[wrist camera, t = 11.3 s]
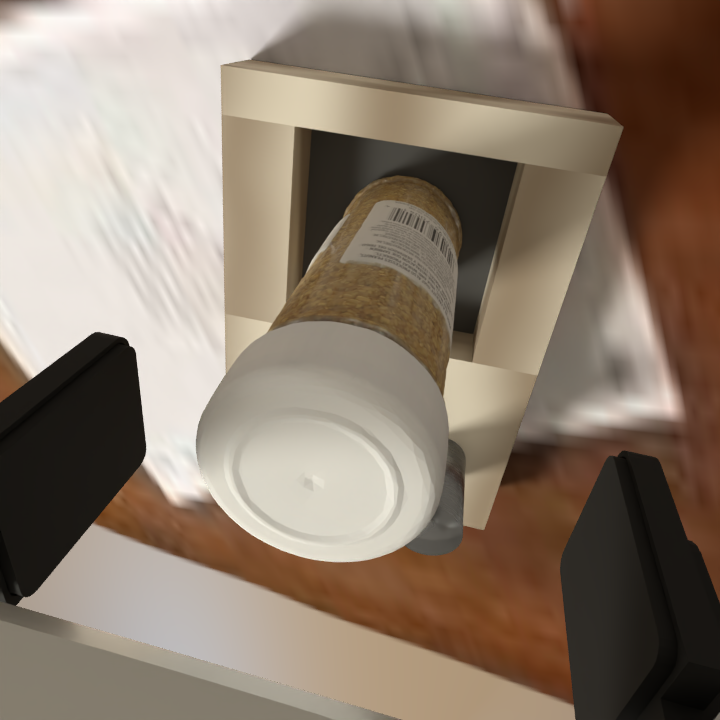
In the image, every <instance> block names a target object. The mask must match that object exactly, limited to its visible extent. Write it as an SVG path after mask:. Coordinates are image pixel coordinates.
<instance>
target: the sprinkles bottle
mask: <svg viewBox="0 0 720 720" xmlns="http://www.w3.org/2000/svg"><path fill="white" fill-rule="evenodd" d="M461 246H462V228H461V222H460V219H459V216H458V213H457V211H456V209H455V208H454V207H453V205H452V203H451V201H450V200H449V199H448V198H447V197H446V196H445V195H444V194H443V192H442V191H441V190H440V189H438V188H437V187H436V186H434V185H432V184H430V183H428V182H426V181H425V180H421V179H419V178H414V177H409V176H399V175H398V176H393V177H386V178H382V179H378V180H375V181H373V182H372V183H370V184H369V185H367V186H366V187H365V188H363V189H362V190H361V191H359V192H358V193H357V194H356V196H355V197H354V199H353V200H352V201H351V203H350V204H349V206H348V207H347V208H346V210H345V213H344V216H343V219H341V220H340V221H339V222H338V224H337V225H336V226H335V227H334V229H333V230H332V231H331V233H330V234H329V236H328V237H327V239H326V240H325V242H324V243H323V244H322V246H321V248H320V249H319V251H318V252H317V253H316V255H315V256H314V258H313V259H312V261H311V263H310V265H309V267H308V269H307V272H306V274H305V276H304V277H303V278H302V279H301V281H300V283H299V284H298V286H297V287H296V288H295V290H294V292H293V293H292V295H291V296H290V298H289V299H288V301H287V302H286V303H285V305H284V307H283V308H282V310H281V312H280V313H279V314H278V316H277V317H276V319H275V320H274V322H273V323H272V325H271V327H270V329H269V330H268V332H267V333H266V334H265V335H263V336H261V337H260V338H258V339H257V340H255V341H254V342H252V343H251V344H250V345H249V346H248V347H247V348H246V349H245V350H244V351H243V352H242V353H241V354H240V355H239V357H238V358H237V359H236V361H235V362H234V363H233V365H232V366H231V368H230V369H229V371H228V372H227V374H226V375H225V376H224V378H223V380H222V381H221V383H220V384H219V386H218V388H217V389H216V391H215V392H214V394H213V396H212V397H211V399H210V401H209V402H208V404H207V406H206V408H205V410H204V411H203V413H202V416H201V419H200V421H199V425H198V430H197V438H196V453H197V460H198V465H199V468H200V472H201V474H202V477H203V479H204V482H205V484H206V485H207V487H208V489H209V491H210V493H211V495H212V496H213V498H214V499H215V500H216V502H217V503H218V504H219V506H220V507H221V508H222V509H223V510H224V511H225V512H226V513H227V514H228V516H229V517H230V518H231V519H232V520H234V521H235V522H236V523H237V524H238V525H239V526H241V527H242V528H243V529H245V530H246V531H247V532H249V533H250V534H252V535H253V536H255V537H256V538H258V539H260V540H262V541H263V542H265V543H267V544H269V545H271V546H273V547H276V548H278V549H280V550H282V551H285V552H288V553H291V554H294V555H297V556H300V557H304V558H309V559H313V560H320V561H330V562H354V561H363V560H369V559H373V558H377V557H380V556H383V555H386V554H388V553H391V552H393V551H395V550H397V549H399V548H401V547H403V546H404V545H406V544H408V543H409V542H411V541H412V540H413V539H415V538H416V537H417V536H418V535H419V534H420V533H421V532H422V531H423V530H424V529H425V528H426V527H427V526H428V524H429V523H430V521H431V519H432V517H433V516H434V515H435V512H436V510H437V508H438V505H439V502H440V498H441V495H442V491H443V485H444V478H445V470H446V462H447V453H448V436H449V423H448V415H447V410H446V406H445V401H444V398H443V395H444V387H445V379H446V369H447V366H448V362H449V359H450V353H451V344H452V334H453V324H454V312H455V302H456V289H457V277H458V264H457V259H458V256H459V251H460V249H461Z"/></svg>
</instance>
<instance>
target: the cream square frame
mask: <svg viewBox="0 0 720 720" xmlns="http://www.w3.org/2000/svg"><path fill="white" fill-rule="evenodd" d="M221 105H222V167H223V229H224V292H225V354H226V374H227V372H228V371H229V369H230V368H231V366H232V365H233V363H234V362H235V361H236V359H237V358H238V357H239V355H240V354H241V353H242V352H243V351H244V350H245V349H246V348H247V347H248V346H249V345H250V344H251V343H252V342H254V341H255V340H257V339H258V338H260V337H261V336H263V335H265V334H266V333H267V332H268V330H269V329H270V327H271V325H272V323H273V322H274V320H275V319H276V317H277V316H278V314H279V313H280V312H281V310H282V308H283V307H284V305H285V303H286V302H287V301H288V299H289V298H290V296H291V295H292V293H293V292H294V290H295V288H296V287H297V286H298V284H299V283H300V281H301V279H302V278H303V277H304V276H305V274H306V272H307V269H308V267H309V265H310V263H311V261H312V259H313V258H314V256H315V255H316V253H317V252H318V251H319V249H320V248H321V246H322V244H323V243H324V242H325V240H326V239H327V237H328V236H329V234H330V233H331V231H332V230H333V229H334V227H335V226H336V225H337V224H338V222H339V221H340V220H341V219H343V216H344V213H345V210H346V208H347V207H348V206H349V204H350V203H351V201H352V200H353V199H354V197H355V196H356V194H357V193H358V192H359V191H361V190H362V189H363V188H365V187H366V186H367V185H369V184H370V183H372V182H373V181H375V180H378V179H382V178H386V177H393V176H398V175H399V176H409V177H414V178H419V179H421V180H425V181H426V182H428V183H430V184H432V185H434V186H436V187H437V188H438V189H440V190H441V191H442V192H443V194H444V195H445V196H446V197H447V198H448V199H449V200H450V201H451V203H452V205H453V207H454V208H455V209H456V211H457V213H458V216H459V219H460V222H461V228H462V246H461V249H460V251H459V256H458V259H457V264H458V277H457V289H456V302H455V312H454V324H453V334H452V344H451V353H450V359H449V362H448V366H447V369H446V379H445V387H444V395H443V398H444V401H445V406H446V410H447V415H448V423H449V436H448V453H447V462H446V470H445V478H444V485H443V491H442V495H441V498H440V502H439V505H438V508H437V510H436V512H435V515H434V516H433V517H432V519H431V521H430V523H429V524H428V526H427V527H426V528H425V529H424V530H423V531H422V532H421V533H420V534H419V535H418V536H417V537H416V538H415V539H413V540H412V541H411V542H409V543H408V544H406V545H405V546H406V547H407V548H409V549H411V550H413V551H415V552H417V553H421V554H425V555H442V554H446V553H449V552H451V551H453V550H454V549H456V548H457V547H458V546H459V544H460V543H461V541H462V537H463V525H464V526H468V527H473V528H477V529H482V530H484V528H485V526H486V523H487V520H488V517H489V514H490V511H491V508H492V505H493V502H494V500H495V497H496V494H497V491H498V488H499V485H500V482H501V479H502V476H503V474H504V471H505V468H506V465H507V462H508V459H509V456H510V453H511V450H512V448H513V445H514V442H515V439H516V436H517V433H518V430H519V427H520V425H521V422H522V419H523V416H524V413H525V410H526V407H527V404H528V401H529V399H530V396H531V393H532V390H533V387H534V384H535V381H536V378H537V375H538V373H539V370H540V367H541V364H542V361H543V358H544V355H545V352H546V349H547V347H548V344H549V341H550V338H551V335H552V332H553V329H554V326H555V323H556V321H557V318H558V315H559V312H560V309H561V306H562V303H563V300H564V297H565V295H566V292H567V289H568V286H569V283H570V280H571V277H572V274H573V271H574V269H575V266H576V263H577V260H578V257H579V254H580V251H581V248H582V245H583V243H584V240H585V237H586V234H587V231H588V228H589V225H590V222H591V220H592V217H593V214H594V211H595V208H596V205H597V202H598V199H599V196H600V194H601V191H602V188H603V185H604V182H605V179H606V176H607V173H608V170H609V168H610V165H611V162H612V159H613V156H614V153H615V150H616V147H617V144H618V142H619V139H620V136H621V133H622V130H623V126H622V125H621V124H619V123H618V122H617V121H616V120H615V119H613V118H612V117H611V116H610V115H608V114H606V113H599V112H592V111H586V110H579V109H573V108H566V107H559V106H553V105H546V104H540V103H533V102H526V101H520V100H513V99H507V98H500V97H493V96H487V95H480V94H474V93H467V92H460V91H454V90H447V89H441V88H434V87H427V86H421V85H414V84H408V83H401V82H394V81H388V80H381V79H374V78H368V77H361V76H355V75H348V74H341V73H335V72H328V71H322V70H315V69H308V68H302V67H295V66H289V65H282V64H275V63H269V62H262V61H256V60H245V61H240V62H235V63H229V64H224V65H221Z"/></svg>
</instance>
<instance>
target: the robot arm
mask: <svg viewBox="0 0 720 720" xmlns="http://www.w3.org/2000/svg"><path fill="white" fill-rule="evenodd" d="M145 454H146V441H145V432H144V423H143V414H142V405H141V396H140V387H139V377H138V368H137V359H136V352H135V350H134V348H133V347H130V346H129V343H128V341H127V339H125V338H123V337H118V336H114V335H109V334H105V333H101V332H95V333H93V334H91V335H90V336H89V337H87V338H86V339H85V340H83V341H82V342H81V343H79V344H78V345H77V346H75V347H74V348H73V349H71V350H70V351H69V352H67V353H66V354H65V355H63V356H62V357H61V358H59V359H58V360H57V361H55V362H54V363H53V364H51V365H50V366H49V367H47V368H46V369H45V370H43V371H42V372H41V373H39V374H38V375H37V376H35V377H34V378H33V379H31V380H30V381H29V382H27V383H26V384H25V385H23V386H22V387H21V388H19V389H18V390H17V391H15V392H14V393H13V394H11V395H10V396H9V397H7V398H6V399H5V400H3V401H2V402H1V403H0V720H401V719H398V718H394V717H391V716H388V715H384V714H381V713H377V712H374V711H371V710H367V709H364V708H361V707H358V706H354V705H351V704H348V703H344V702H341V701H338V700H335V699H331V698H328V697H324V696H321V695H318V694H315V693H311V692H308V691H305V690H301V689H297V688H294V687H291V686H288V685H284V684H281V683H278V682H274V681H271V680H267V679H264V678H261V677H257V676H254V675H250V674H247V673H244V672H240V671H237V670H234V669H230V668H227V667H224V666H220V665H217V664H213V663H210V662H206V661H203V660H200V659H196V658H193V657H190V656H186V655H183V654H179V653H176V652H173V651H169V650H166V649H163V648H159V647H155V646H152V645H149V644H146V643H142V642H138V641H135V640H132V639H128V638H124V637H121V636H118V635H114V634H110V633H107V632H104V631H101V630H97V629H94V628H90V627H87V626H83V625H80V624H76V623H73V622H70V621H66V620H63V619H59V618H56V617H52V616H49V615H45V614H42V613H39V612H35V611H32V610H28V609H25V608H21V607H18V606H16V605H17V604H18V603H19V601H20V600H21V599H22V598H23V597H28V596H31V595H32V594H34V593H35V592H36V591H37V590H38V588H39V587H40V586H41V585H42V584H43V582H44V581H45V580H46V579H47V578H48V576H49V575H50V574H51V573H52V571H53V570H54V569H55V568H56V566H57V565H58V564H59V563H60V562H61V561H62V559H63V558H64V557H65V556H66V555H67V553H68V552H69V551H70V550H71V549H72V547H73V546H74V544H76V542H77V541H78V540H79V539H80V538H81V536H82V535H83V534H84V533H85V531H86V530H87V529H88V528H89V527H90V526H91V524H92V523H93V522H94V521H95V519H96V518H97V517H98V516H99V515H100V513H101V512H102V511H103V510H104V509H105V507H106V506H107V505H108V504H109V503H110V501H111V500H112V499H113V498H114V496H115V495H116V494H117V493H118V492H119V490H120V489H121V488H122V487H123V486H124V484H125V483H126V482H127V481H128V480H129V478H130V477H131V476H132V475H133V473H134V472H135V471H136V470H137V469H138V467H139V466H140V465H141V463H142V462H143V460H144V457H145ZM560 573H561V583H562V593H563V602H564V612H565V622H566V631H567V641H568V651H569V661H570V670H571V680H572V690H573V699H574V709H575V719H576V720H720V603H719V600H718V598H717V595H716V592H715V590H714V587H713V584H712V581H711V579H710V576H709V573H708V571H707V568H706V565H705V563H704V560H703V557H702V555H701V552H700V551H699V549H698V547H697V545H696V544H694V543H693V542H692V541H689V540H687V537H686V534H685V531H684V528H683V526H682V523H681V520H680V517H679V514H678V512H677V509H676V506H675V503H674V500H673V498H672V495H671V492H670V489H669V486H668V484H667V481H666V478H665V475H664V472H663V470H662V467H661V464H660V462H659V460H658V459H657V458H655V457H651V456H647V455H642V454H638V453H633V452H629V451H622V452H621V453H620V454H619V455H618V457H615V456H609V457H608V458H607V460H606V461H605V463H604V466H603V468H602V470H601V472H600V474H599V476H598V478H597V481H596V483H595V485H594V487H593V489H592V491H591V493H590V496H589V498H588V500H587V502H586V504H585V506H584V508H583V511H582V513H581V515H580V517H579V519H578V521H577V523H576V526H575V528H574V530H573V532H572V534H571V536H570V539H569V541H568V543H567V545H566V547H565V549H564V552H563V554H562V558H561V565H560Z"/></svg>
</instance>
